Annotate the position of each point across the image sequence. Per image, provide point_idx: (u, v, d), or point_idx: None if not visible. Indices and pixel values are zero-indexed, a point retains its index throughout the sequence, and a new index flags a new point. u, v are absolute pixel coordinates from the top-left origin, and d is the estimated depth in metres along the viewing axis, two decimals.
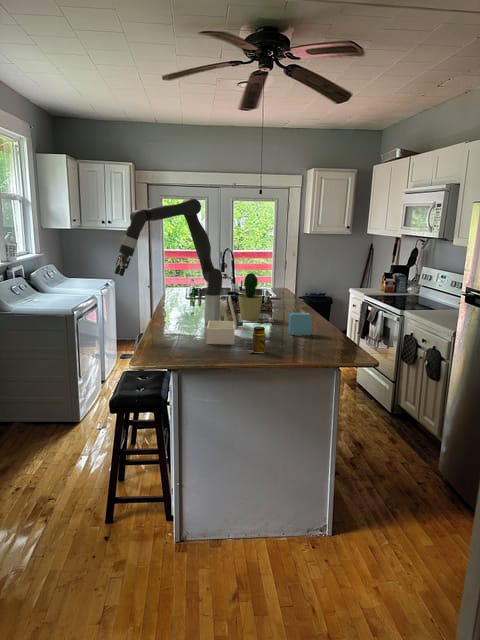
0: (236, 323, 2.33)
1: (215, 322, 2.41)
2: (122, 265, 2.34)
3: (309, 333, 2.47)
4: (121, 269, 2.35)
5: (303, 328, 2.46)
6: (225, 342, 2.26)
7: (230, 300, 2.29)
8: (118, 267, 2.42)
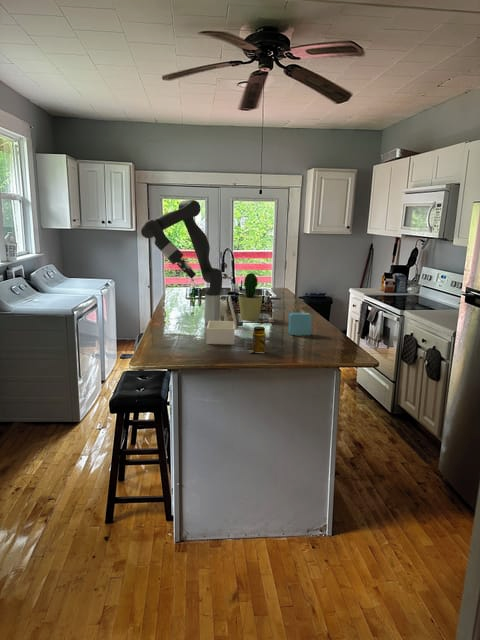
0: (236, 323, 2.33)
1: (215, 322, 2.41)
2: None
3: (309, 333, 2.47)
4: (187, 273, 2.28)
5: (304, 328, 2.46)
6: (225, 342, 2.26)
7: (230, 300, 2.29)
8: (189, 270, 2.36)
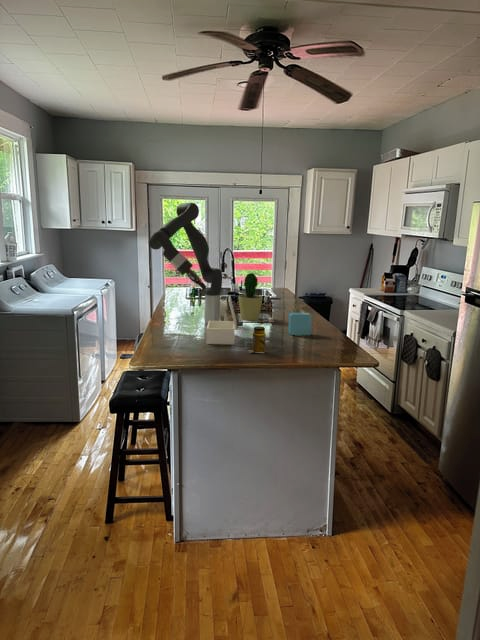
0: (236, 323, 2.33)
1: (215, 322, 2.41)
2: None
3: (309, 333, 2.47)
4: (199, 285, 2.28)
5: (304, 328, 2.46)
6: (225, 342, 2.26)
7: (230, 300, 2.29)
8: None
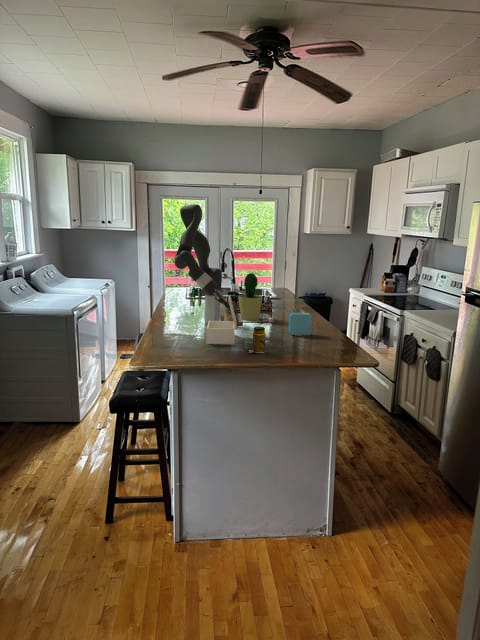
0: (236, 323, 2.33)
1: (215, 322, 2.41)
2: (221, 302, 2.29)
3: (309, 333, 2.47)
4: (224, 304, 2.30)
5: (304, 328, 2.46)
6: (225, 342, 2.26)
7: (230, 300, 2.29)
8: None
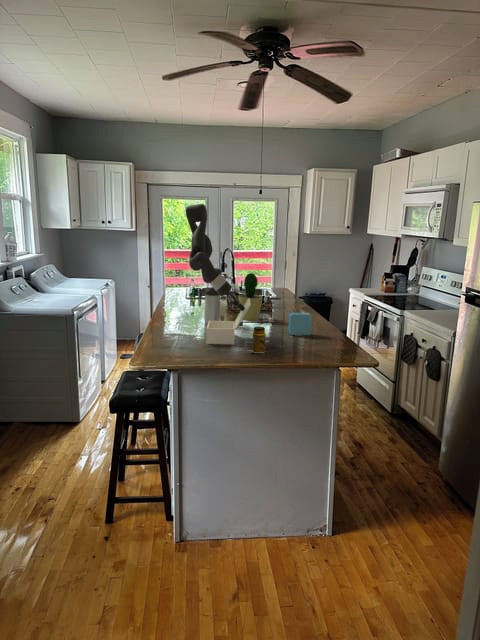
0: (236, 324, 2.34)
1: (215, 322, 2.41)
2: None
3: (309, 333, 2.47)
4: (238, 306, 2.30)
5: (304, 328, 2.46)
6: (225, 342, 2.26)
7: (249, 304, 2.29)
8: None
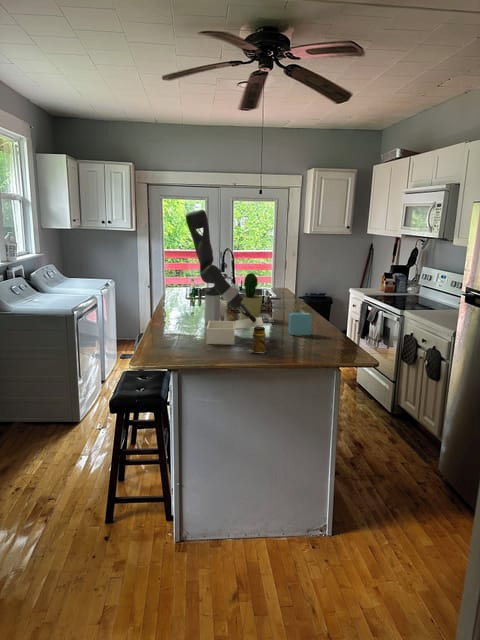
0: None
1: (215, 322, 2.41)
2: None
3: (309, 333, 2.47)
4: None
5: (304, 328, 2.46)
6: (225, 342, 2.26)
7: None
8: None
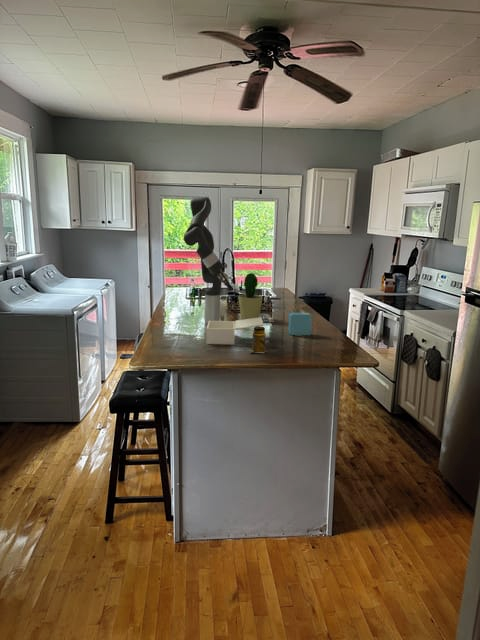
0: None
1: (215, 322, 2.41)
2: None
3: (309, 333, 2.47)
4: (227, 286, 2.31)
5: (304, 328, 2.46)
6: (225, 342, 2.26)
7: None
8: None
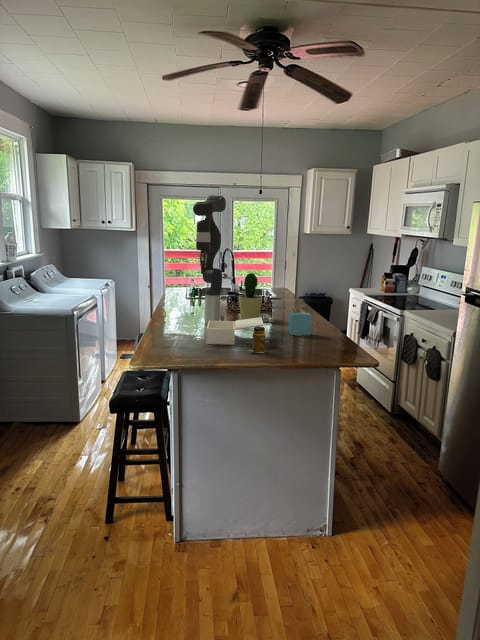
0: None
1: (215, 322, 2.41)
2: None
3: (309, 333, 2.47)
4: (201, 267, 2.38)
5: (304, 328, 2.46)
6: (225, 342, 2.26)
7: None
8: None
